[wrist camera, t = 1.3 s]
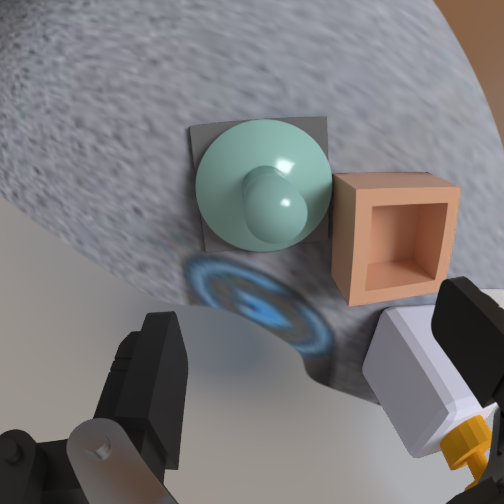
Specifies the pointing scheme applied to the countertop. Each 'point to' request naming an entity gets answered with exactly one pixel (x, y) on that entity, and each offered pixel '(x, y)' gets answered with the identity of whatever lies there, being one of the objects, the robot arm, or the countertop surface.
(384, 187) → the dish
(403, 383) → the soap bottle
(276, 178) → the lid
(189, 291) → the countertop surface
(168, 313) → the robot arm
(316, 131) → the mat
